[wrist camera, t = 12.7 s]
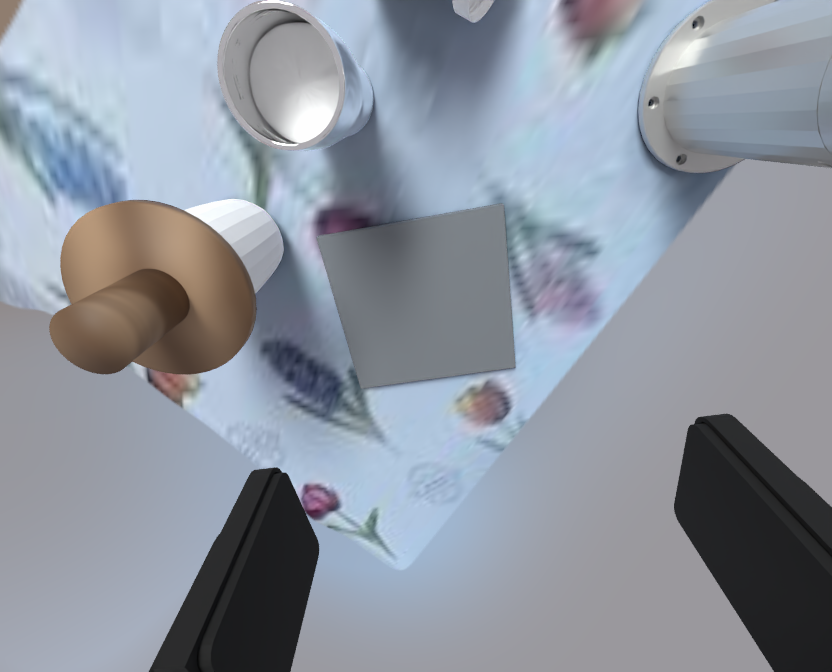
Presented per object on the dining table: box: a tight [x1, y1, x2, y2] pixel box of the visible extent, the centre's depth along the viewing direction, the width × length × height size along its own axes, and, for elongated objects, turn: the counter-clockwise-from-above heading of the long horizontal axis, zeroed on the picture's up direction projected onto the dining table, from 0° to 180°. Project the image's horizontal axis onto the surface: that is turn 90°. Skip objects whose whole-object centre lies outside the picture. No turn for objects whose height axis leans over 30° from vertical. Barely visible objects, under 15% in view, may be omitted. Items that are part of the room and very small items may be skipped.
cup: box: [184, 199, 284, 294], centre depth 33 cm, size 8×8×14 cm
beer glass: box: [217, 0, 373, 151], centre depth 27 cm, size 7×7×15 cm
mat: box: [317, 203, 515, 389], centre depth 42 cm, size 18×18×1 cm
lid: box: [49, 200, 257, 374], centre depth 24 cm, size 12×12×7 cm
